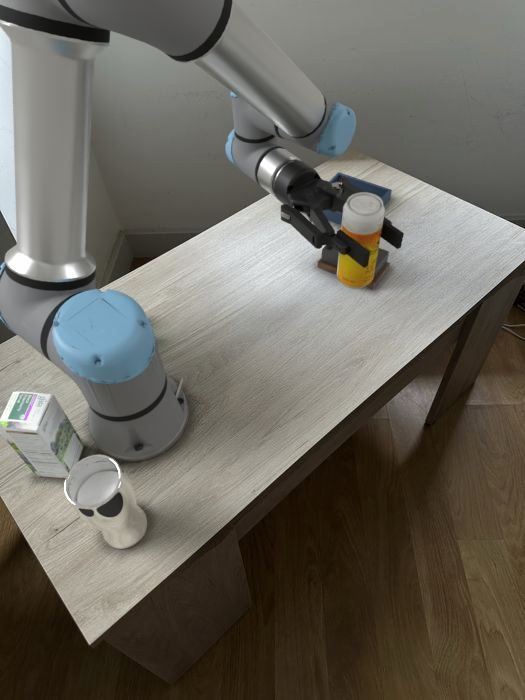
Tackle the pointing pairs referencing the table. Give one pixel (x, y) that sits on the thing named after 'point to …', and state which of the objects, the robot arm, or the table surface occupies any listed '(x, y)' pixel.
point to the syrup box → (41, 434)
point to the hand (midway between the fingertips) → (384, 250)
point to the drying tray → (363, 185)
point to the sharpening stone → (331, 263)
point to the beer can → (361, 237)
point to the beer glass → (106, 500)
